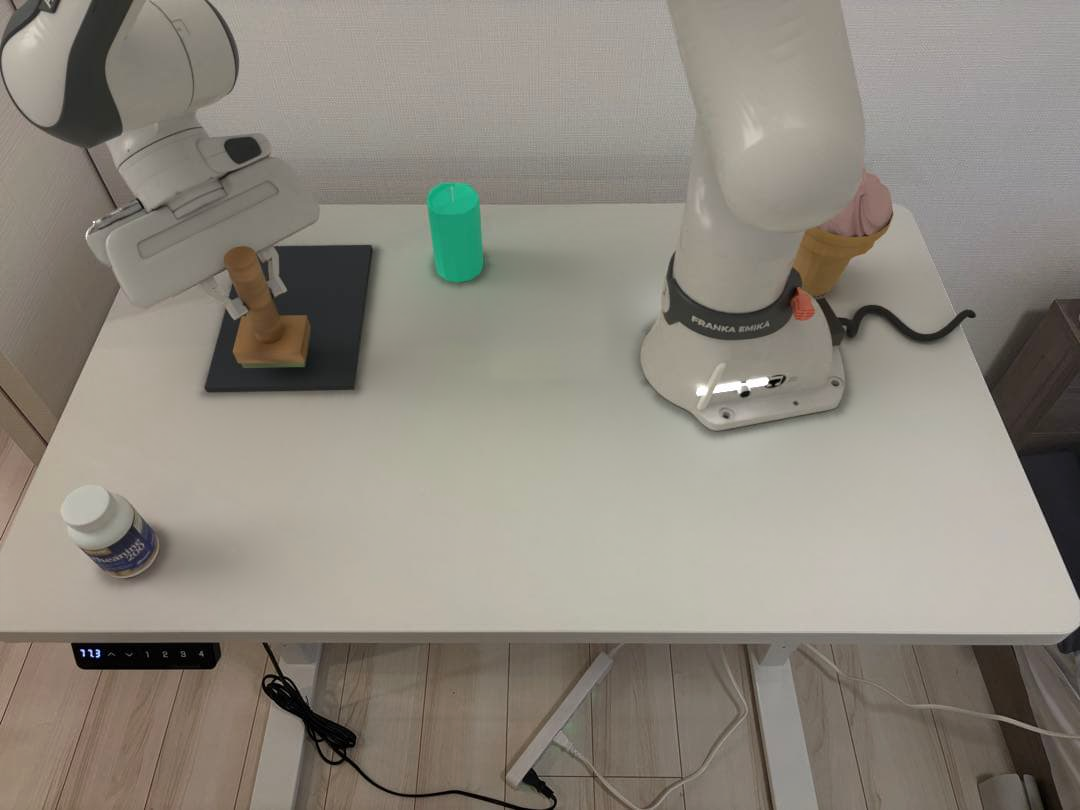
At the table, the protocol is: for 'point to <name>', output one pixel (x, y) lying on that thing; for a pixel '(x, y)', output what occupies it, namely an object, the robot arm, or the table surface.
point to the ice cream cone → (844, 236)
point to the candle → (456, 231)
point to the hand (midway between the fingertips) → (261, 305)
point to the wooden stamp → (264, 318)
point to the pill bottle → (109, 531)
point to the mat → (331, 307)
